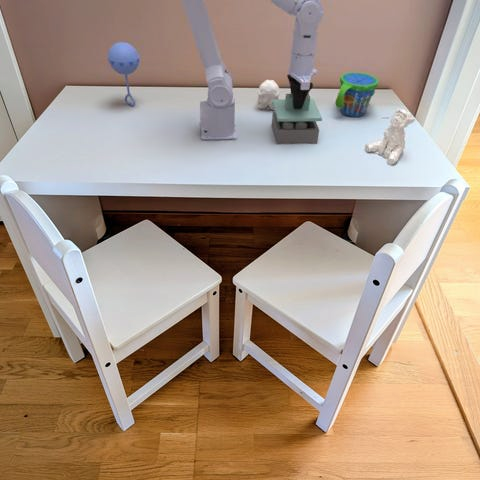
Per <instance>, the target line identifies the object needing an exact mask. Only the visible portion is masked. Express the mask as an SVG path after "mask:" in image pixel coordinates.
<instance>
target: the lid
mask: <svg viewBox="0 0 480 480" xmlns="http://www.w3.org/2000/svg"><path fill="white" fill-rule="evenodd" d="M273 106H274V110H273V111H275V114H276V117H277V121H278V122H281V121H316V122H323V118H322V115H321V113H320V110H319V108H318V106H317V104H316V101H315V99H314V98H312V99H311V96H310V93H308V95H307V97H306V99H305V102H304V105H303V107H302V109H294V107H293V94H291V93H286V94H285V97H284V99H279V98H278V99H277V100H273Z"/></svg>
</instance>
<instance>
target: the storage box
mask: <svg viewBox="0 0 480 480" xmlns="http://www.w3.org/2000/svg"><path fill="white" fill-rule="evenodd" d="M271 126H272V127H271V128H272V131H273V136H274V139H275V144H276V145H302V144H306V145H307V144H311V145H312V144H313V145H315V144H318V140H319V133H320V128H319V126H318V123H317V121H281V122H278V121H277V117H276V114H275V110H273V111H272V116H271Z"/></svg>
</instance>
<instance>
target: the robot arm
mask: <svg viewBox="0 0 480 480" xmlns="http://www.w3.org/2000/svg"><path fill="white" fill-rule="evenodd" d="M180 1H181V3H182V7H183V9H184V12H185V15H186V18H187V21H188V24H189V26H190V27H189V28H190V30H191V33H192V37H193V39H194V42H195V45H196V48H197V51H198V54H199V57H200V59H201V62H202V66H203V68H204V76H205V81H206V84H207V89H208V90H207V99H206V100H204V101H199V118H200V122H199V129H200V137H201V140H204V141H205V140H206V141H207V140H212V141H213V140H214V141H215V140H237V138H238V137H237V128H236V123H235V118H236V117H235V109H236V107H235V104H236V102H235V100H236V99H235V98H234V92H233V88H234V87H233V86H234V78H233V75H232V74H231V73H230V72H229V71H228V70H227V67H226V64H225V62H224V61H223V59H222V56H221V51H220V49H219V46H218V42H217V39H216V36H215V32H214V29H213V26H212V23H211V20H210V15H209V13H208V9H207V6H206V3H205V2H206V1H205V0H180ZM267 1H269V2H270V3H271V4H273V5H275V6H276V7H278V8H279V9H281V10H282V11H283V12H285V13H287V14H288V15H290V16H295V17H296V18H295V20H294V21H295V22H294V29H293V30H292V32H293V33H292V42H291V51H290V52H291V53H290V62H289V63H290V64H289V68H288V72H287V73H288V74H287V75H286V76H287V80H288V83H289V88H290V94H293V107H294V109H302V107H303V105H304V102H305V99H306V97H307V95H308V94H310V91H311V90H312V89H313V87H314V84H313V82H311V79H312V78H313V76H315V75H316V76H317V74H318V70H317V69H315V68H314V63H315V56H316V50H317V42H318V36H319V35H318V34H319V32H318V31H319V30H318V29H319V25H320V24H319V23H321V21H322V19H323V17H324V11H323V9H324V8H323V5H322V3H321V1H320V0H267Z"/></svg>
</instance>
